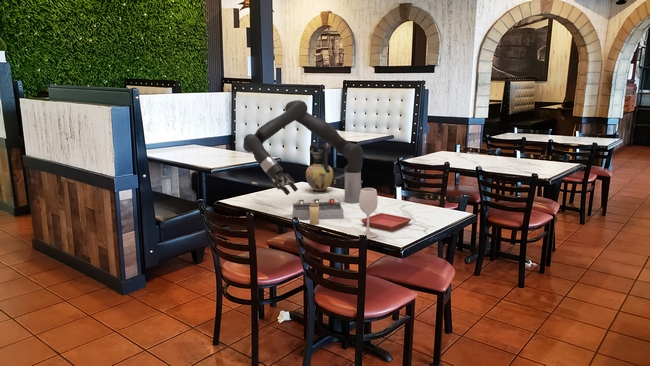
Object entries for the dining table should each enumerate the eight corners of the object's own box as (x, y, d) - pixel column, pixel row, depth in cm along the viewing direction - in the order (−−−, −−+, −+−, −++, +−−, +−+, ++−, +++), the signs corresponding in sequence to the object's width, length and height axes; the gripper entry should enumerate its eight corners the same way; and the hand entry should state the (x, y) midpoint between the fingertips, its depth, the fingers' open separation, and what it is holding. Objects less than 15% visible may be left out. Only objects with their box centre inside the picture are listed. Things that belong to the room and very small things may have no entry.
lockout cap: (318, 221, 246) (318, 202, 244) (319, 224, 242) (319, 204, 240) (309, 222, 245) (309, 202, 243) (310, 224, 241) (310, 204, 239)
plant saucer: (381, 218, 253) (381, 212, 252) (412, 225, 242) (412, 218, 241) (359, 226, 240) (359, 219, 239) (391, 233, 228) (392, 226, 227)
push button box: (339, 211, 265) (339, 198, 263) (343, 218, 252) (343, 204, 251) (292, 213, 262) (292, 199, 260) (294, 220, 249) (293, 205, 248)
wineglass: (354, 235, 225) (354, 189, 220) (366, 231, 231) (367, 186, 226) (368, 239, 219) (369, 192, 214) (381, 235, 224) (382, 189, 220)
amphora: (300, 192, 311) (299, 144, 305) (316, 187, 325) (316, 141, 318) (322, 196, 301) (322, 146, 295) (338, 191, 314) (339, 143, 308)
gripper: (269, 164, 239) (290, 190, 237) (283, 160, 252) (303, 184, 250) (259, 175, 242) (281, 200, 240) (274, 170, 255) (294, 194, 253)
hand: (292, 192), depth 245 cm, fingers open, 8 cm apart
